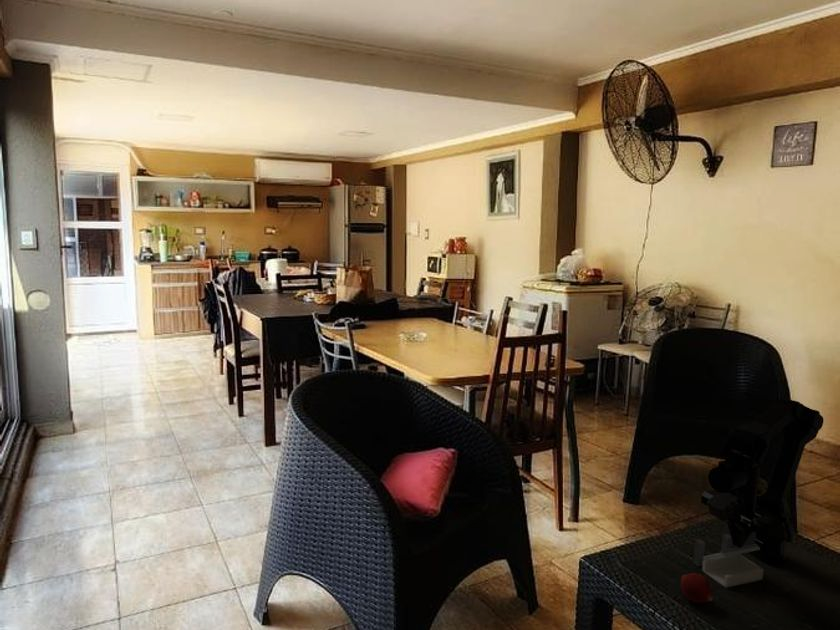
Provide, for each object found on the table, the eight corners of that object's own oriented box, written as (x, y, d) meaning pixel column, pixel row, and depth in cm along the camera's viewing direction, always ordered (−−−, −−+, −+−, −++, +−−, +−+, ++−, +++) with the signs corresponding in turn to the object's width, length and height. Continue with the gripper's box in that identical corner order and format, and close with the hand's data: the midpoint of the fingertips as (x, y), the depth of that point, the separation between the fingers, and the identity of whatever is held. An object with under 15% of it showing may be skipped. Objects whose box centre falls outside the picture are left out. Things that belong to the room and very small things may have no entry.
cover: (738, 552, 148) (736, 546, 148) (760, 549, 142) (757, 543, 142) (704, 559, 144) (702, 553, 145) (725, 556, 138) (722, 550, 139)
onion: (690, 585, 138) (719, 609, 131) (671, 591, 136) (699, 615, 129) (694, 563, 137) (723, 586, 130) (674, 568, 134) (703, 592, 127)
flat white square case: (726, 556, 152) (729, 533, 151) (762, 579, 142) (765, 555, 141) (691, 563, 148) (693, 540, 147) (726, 587, 138) (728, 563, 137)
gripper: (685, 471, 146) (680, 532, 148) (751, 504, 128) (744, 573, 130) (721, 466, 149) (716, 526, 151) (790, 498, 132) (782, 565, 134)
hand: (737, 546), depth 142 cm, fingers closed
